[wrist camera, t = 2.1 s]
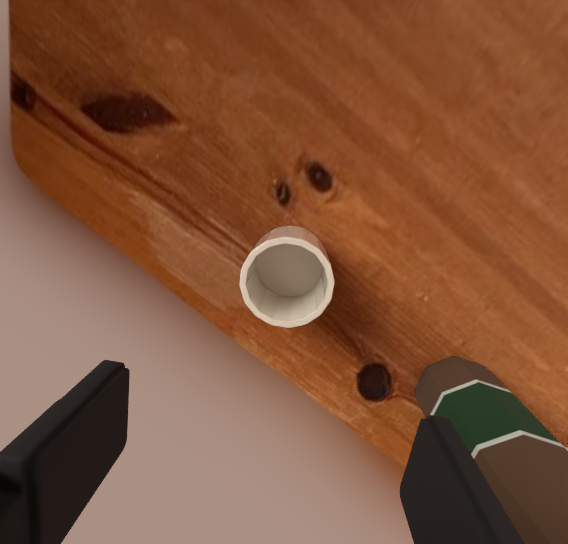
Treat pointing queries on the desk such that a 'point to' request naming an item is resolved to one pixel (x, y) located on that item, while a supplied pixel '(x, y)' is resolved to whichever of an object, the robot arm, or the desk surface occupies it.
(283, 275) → the ramekin
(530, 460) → the beer bottle
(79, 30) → the desk surface
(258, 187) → the desk surface
